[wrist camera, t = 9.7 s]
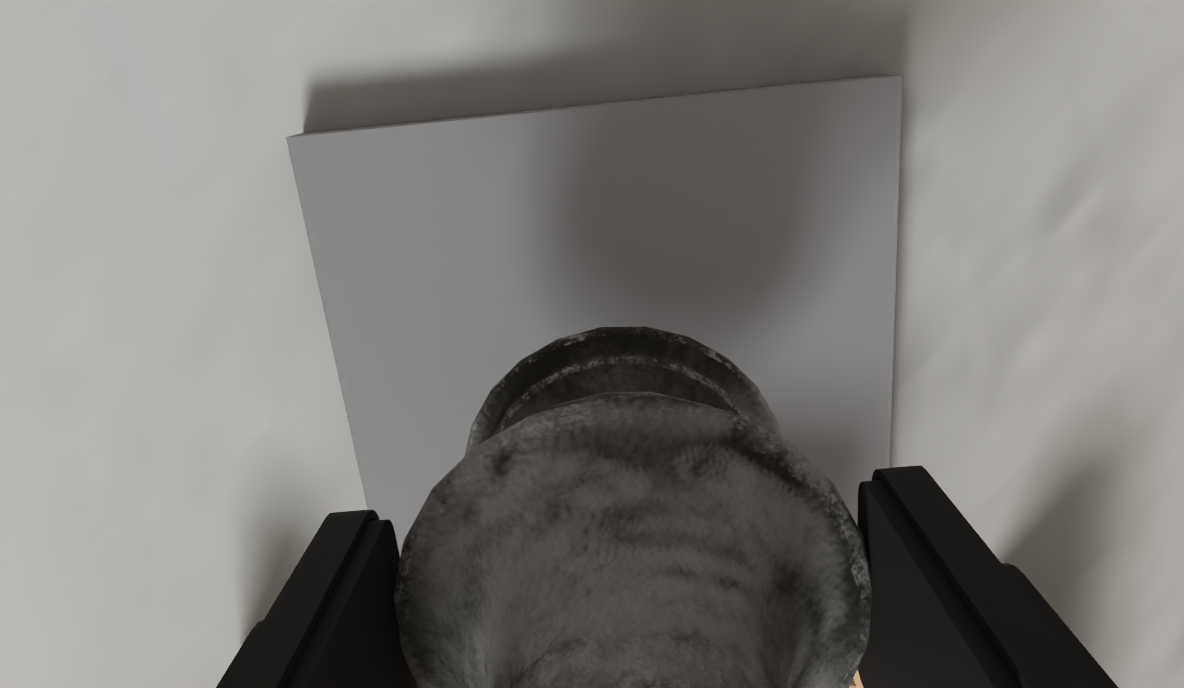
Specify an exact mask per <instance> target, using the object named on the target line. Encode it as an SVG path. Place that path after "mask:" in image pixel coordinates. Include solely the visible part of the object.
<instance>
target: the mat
mask: <svg viewBox="0 0 1184 688" xmlns="http://www.w3.org/2000/svg"><path fill="white" fill-rule="evenodd" d="M902 80H903V76H899V75H880V76H870V77H860V78H850V79H840V80H830V81H820V82H810V83H800V84H790V85H780V86H770V87H760V88H750V89H740V90H730V91H720V92H710V93H700V94H690V95H680V96H670V97H660V98H650V99H640V100H631V101H621V102H611V103H601V104H591V105H581V106H571V107H561V108H551V109H541V110H531V111H521V112H511V113H501V114H491V115H481V116H471V117H461V118H451V119H441V120H431V121H421V122H411V123H401V124H391V125H381V126H371V127H361V128H351V129H341V130H331V131H321V132H311V133H302V134H298V135H294V136H290V137H286V139H287V144H288V148H289V153H290V157H291V162H292V167H293V171H294V176H295V180H296V185H297V189H298V194H299V198H300V203H301V208H302V212H303V217H304V221H305V226H306V230H307V235H308V239H309V244H310V248H311V253H312V258H313V262H314V267H315V271H316V276H317V280H318V285H319V289H320V294H321V298H322V303H323V308H324V312H325V317H326V321H327V326H328V330H329V335H330V339H331V344H332V349H333V353H334V358H335V362H336V367H337V371H338V376H339V380H340V385H341V389H342V394H343V399H344V403H345V408H346V412H347V417H348V421H349V426H350V430H351V435H352V440H353V444H354V449H355V453H356V458H357V462H358V467H359V471H360V476H361V480H362V485H363V490H364V494H365V499H366V503H367V508H368V510H374V511H376V513H377V514H378V516H379V519H380V520H386V519H389V520H390V521H391V522H392V524H393V527H394V530H395V535H396V540H397V545H398V550H399V555H400V556H401V551H402V546H403V542H404V540H405V537H406V536H407V534H408V532H409V530H410V528H411V526H412V525H413V523H414V521H415V519H416V517H417V515H418V514H419V512H420V510H421V508H422V506H423V505H424V503H425V501H426V499H427V497H428V495H429V494H430V492H431V490H432V488H433V487H434V486H435V485H436V484H437V483H438V482H439V481H440V480H441V479H443V478H444V477H445V476H446V475H447V474H448V473H449V472H450V471H451V470H452V469H453V468H454V467H455V466H456V465H457V464H458V463H459V462H460V461H461V460H462V459H463V458H464V457H465V452H466V448H467V443H468V438H469V434H470V429H471V426H472V423H473V422H474V420H475V418H476V416H477V414H478V413H479V411H480V409H481V407H482V405H483V403H484V402H485V400H486V398H487V396H488V394H489V393H490V391H491V389H492V388H493V387H494V386H495V385H496V384H497V383H498V382H499V381H500V380H501V379H502V378H503V377H504V376H505V375H506V374H507V373H508V372H509V371H510V370H511V369H512V368H513V367H514V366H515V365H516V364H517V363H518V362H519V361H520V360H522V359H523V358H525V357H527V356H529V355H530V354H532V353H534V352H536V351H537V350H539V349H541V348H543V347H544V346H546V345H548V344H550V343H551V342H553V341H555V340H557V339H559V338H563V337H566V336H570V335H574V334H577V333H581V332H585V331H588V330H592V329H596V328H599V327H638V326H646V327H650V328H655V329H659V330H663V331H667V332H671V333H675V334H680V335H684V336H688V337H690V338H692V339H694V340H696V341H698V342H700V343H702V344H703V345H705V346H707V347H709V348H711V349H713V350H715V351H716V352H718V353H720V354H722V355H724V356H726V357H727V358H728V359H729V360H730V361H731V362H733V363H734V364H735V365H736V366H737V367H738V368H739V369H740V370H741V371H742V372H743V373H744V374H745V375H746V376H747V377H748V378H749V379H750V380H751V381H752V382H753V383H755V384H756V385H757V387H758V389H759V390H760V392H761V394H762V396H763V397H764V399H765V401H766V402H767V404H768V406H769V408H770V409H771V411H772V413H773V415H774V416H775V418H776V420H777V422H778V424H779V428H780V433H781V437H782V438H783V439H785V440H787V441H789V442H790V443H791V444H792V445H793V446H794V447H795V448H796V449H798V450H799V451H800V452H801V453H802V454H803V455H804V456H805V457H806V458H807V459H808V460H809V461H810V462H811V463H812V464H813V465H814V466H816V467H817V468H818V469H819V470H820V471H821V472H822V473H823V474H824V475H825V476H826V477H827V478H828V479H829V480H830V481H831V482H832V483H833V484H834V485H835V487H836V489H837V491H838V492H839V494H840V496H841V498H842V499H843V501H844V503H845V505H846V507H847V508H848V510H849V512H850V514H851V515H852V517H853V519H854V521H855V522H856V524H857V522H858V488H859V484H860V483H861V482H862V481H872V475H873V472H874V471H875V470H876V469H883V468H890V441H891V411H892V381H893V351H894V321H895V291H896V261H897V231H898V201H899V170H900V140H901V110H902Z"/></svg>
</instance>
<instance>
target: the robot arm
mask: <svg viewBox="0 0 1184 688" xmlns="http://www.w3.org/2000/svg"><path fill="white" fill-rule="evenodd" d="M857 526H858V528H859V529H860V531H861V533H862V535H863V536H864V540H865V545H866V550H867V555H868V559H869V564H870V569H871V579H872V607H871V623H870V637H869V643H868V646H867V648H866V650H865V652H864V655H863V657H862V659H861V661H860V664H859V666H858V672H859V676H860V680H861V682H862V685H863V687H864V688H1118V687H1117V686H1116V684H1115V683H1114V682H1113V681H1112V680H1111V678H1110V677H1109V676H1108V675H1107V674H1106V672H1105V671H1104V670H1103V669H1102V668H1101V666H1100V665H1099V664H1098V663H1097V662H1096V660H1095V659H1094V658H1093V657H1092V656H1091V654H1090V653H1089V652H1088V651H1087V650H1086V648H1085V647H1084V646H1083V645H1082V644H1081V642H1080V641H1079V640H1078V639H1077V638H1076V636H1075V635H1074V634H1073V633H1072V632H1071V630H1070V629H1069V628H1068V627H1067V626H1066V624H1065V623H1064V622H1063V621H1062V620H1061V618H1060V617H1059V616H1058V615H1057V614H1056V612H1055V611H1054V610H1053V609H1052V608H1051V606H1050V605H1049V604H1048V603H1047V602H1046V600H1045V599H1044V598H1043V597H1042V596H1041V594H1040V593H1039V592H1038V591H1037V590H1036V588H1035V587H1034V586H1033V585H1032V584H1031V582H1030V581H1029V580H1028V579H1027V578H1026V576H1025V575H1024V574H1023V573H1022V572H1021V571H1020V570H1019V569H1018V568H1016V567H1015V566H1014V565H1010V564H1001V562H1000V561H999V560H998V559H997V557H996V556H995V555H994V554H993V553H992V551H991V550H990V549H989V548H988V546H987V545H986V544H985V543H984V541H983V540H982V539H981V538H980V536H979V535H978V534H977V533H976V531H975V530H974V529H973V528H972V526H971V525H970V524H969V523H968V521H967V520H966V519H965V518H964V516H963V515H962V514H961V513H960V512H959V510H958V509H957V508H956V507H955V505H954V504H953V503H952V502H951V500H950V499H949V498H948V497H947V495H946V494H945V493H944V492H943V490H942V489H941V488H940V487H939V485H938V484H937V483H936V482H935V480H934V479H933V478H932V477H931V476H930V474H929V473H928V472H927V471H926V469H925V468H923V467H922V466H908V467H896V468H883V469H876V470H875V471H874V472H873V475H872V481H862V482H861V483H860V484H859V488H858V522H857ZM399 561H400V555H399V550H398V545H397V540H396V535H395V530H394V527H393V524H392V522H391V521H390V520H389V519H386V520H380V519H379V516H378V514H377V513H376V511H374V510H361V511H348V512H336V513H330V514H329V515H328V516H327V517H326V518H325V520H324V522H323V523H322V525H321V527H320V528H319V530H318V531H317V533H316V535H315V536H314V538H313V540H312V541H311V543H310V545H309V546H308V548H307V550H306V551H305V553H304V555H303V556H302V558H301V559H300V561H299V563H298V564H297V566H296V568H295V569H294V571H293V573H292V574H291V576H290V578H289V579H288V581H287V583H286V584H285V586H284V587H283V589H282V591H281V592H280V594H279V596H278V597H277V599H276V601H275V602H274V604H273V606H272V607H271V609H270V611H269V612H268V614H267V615H266V617H265V619H264V620H263V621H260V622H258V623H257V625H256V626H255V627H254V628H253V629H252V631H251V632H250V634H249V635H248V637H247V638H246V640H245V642H244V643H243V645H242V647H241V648H240V650H239V651H238V653H237V655H236V656H235V658H234V659H233V661H232V663H231V664H230V666H229V668H228V669H227V671H226V672H225V674H224V676H223V677H222V679H221V681H220V682H219V684H218V685H217V687H216V688H417V686H416V684H415V682H414V680H413V677H412V675H411V673H410V671H409V668H408V666H407V664H406V661H405V659H404V656H403V653H402V650H401V644H400V638H399V632H398V627H397V621H396V615H395V609H394V602H393V592H394V587H395V582H396V577H397V572H398V566H399Z"/></svg>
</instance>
